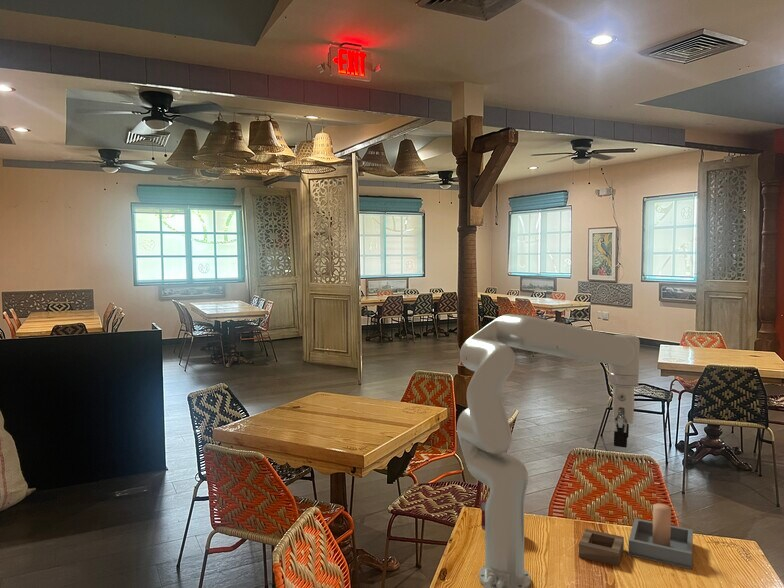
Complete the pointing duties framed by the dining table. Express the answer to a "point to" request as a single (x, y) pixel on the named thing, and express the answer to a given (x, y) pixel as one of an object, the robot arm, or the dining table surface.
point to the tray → (672, 555)
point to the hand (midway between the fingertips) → (621, 441)
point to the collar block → (601, 547)
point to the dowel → (661, 524)
